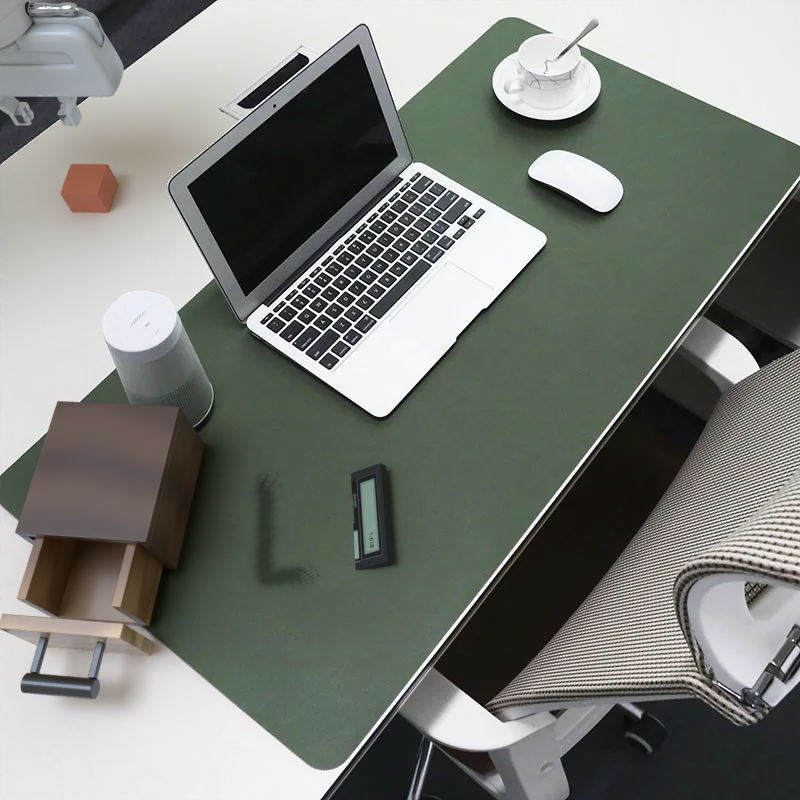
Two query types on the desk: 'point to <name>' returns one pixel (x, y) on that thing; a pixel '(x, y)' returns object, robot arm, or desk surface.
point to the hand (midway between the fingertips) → (49, 121)
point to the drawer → (84, 607)
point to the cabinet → (115, 477)
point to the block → (89, 188)
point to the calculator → (371, 518)
